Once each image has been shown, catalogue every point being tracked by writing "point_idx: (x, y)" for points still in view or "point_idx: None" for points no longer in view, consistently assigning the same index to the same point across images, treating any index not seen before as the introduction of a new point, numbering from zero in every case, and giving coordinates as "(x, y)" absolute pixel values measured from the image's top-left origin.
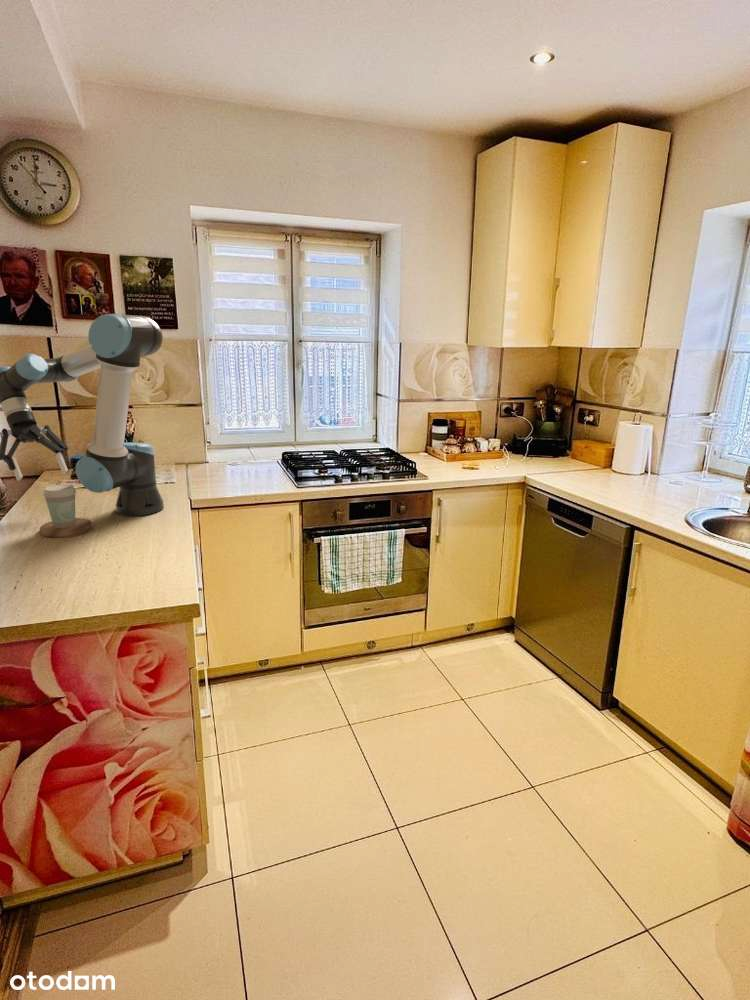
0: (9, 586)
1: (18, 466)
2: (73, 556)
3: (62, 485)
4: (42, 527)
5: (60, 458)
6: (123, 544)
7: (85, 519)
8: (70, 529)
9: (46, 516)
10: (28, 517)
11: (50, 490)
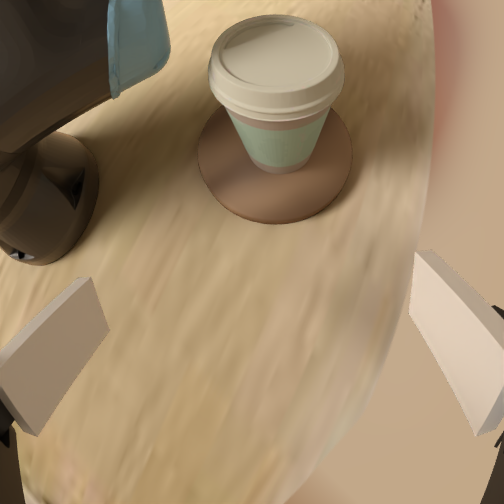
0: (430, 6)
1: (461, 295)
2: (330, 15)
3: (240, 79)
4: (339, 174)
5: (32, 343)
6: (230, 12)
7: (203, 160)
8: None
9: (259, 354)
10: (310, 389)
11: (324, 32)
